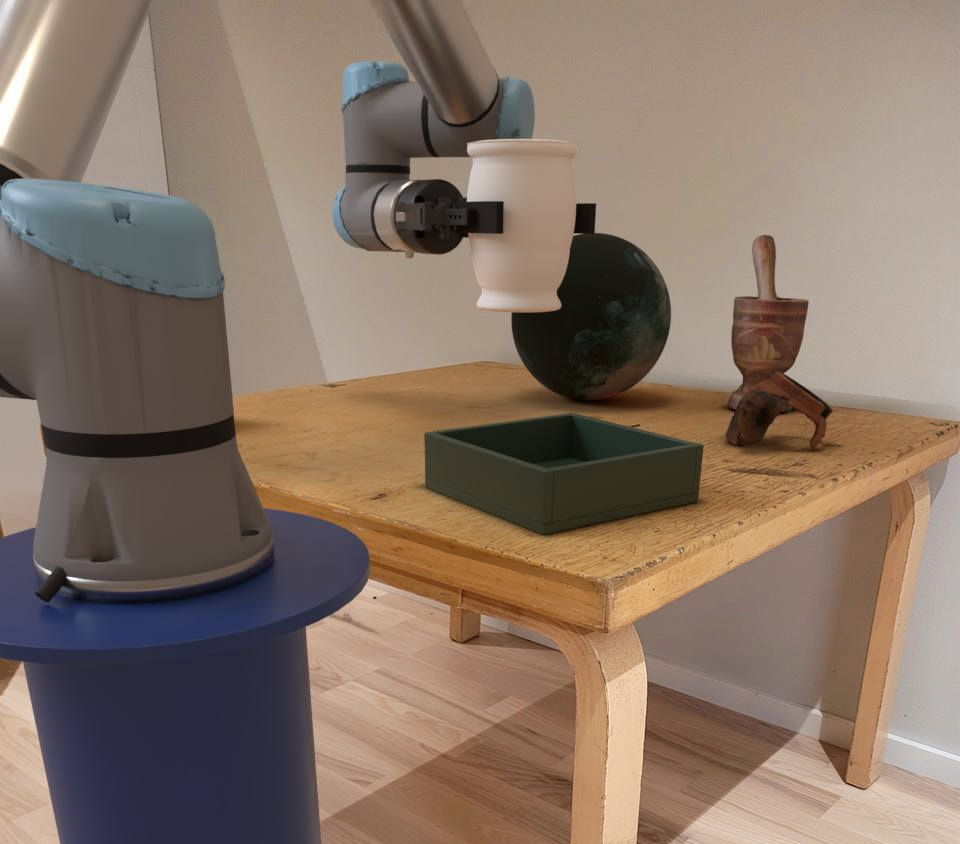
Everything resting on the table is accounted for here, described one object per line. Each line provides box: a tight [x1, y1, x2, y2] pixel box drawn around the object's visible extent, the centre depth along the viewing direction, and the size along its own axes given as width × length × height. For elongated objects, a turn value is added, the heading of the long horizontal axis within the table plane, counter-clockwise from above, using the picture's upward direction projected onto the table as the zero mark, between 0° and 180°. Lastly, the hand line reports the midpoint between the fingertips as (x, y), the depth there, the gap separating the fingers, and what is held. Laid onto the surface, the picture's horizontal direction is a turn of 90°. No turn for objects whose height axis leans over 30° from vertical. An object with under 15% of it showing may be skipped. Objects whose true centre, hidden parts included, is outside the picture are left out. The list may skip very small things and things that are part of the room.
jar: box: [466, 138, 579, 313], centre depth 93 cm, size 11×10×15 cm
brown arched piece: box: [724, 371, 834, 450], centre depth 99 cm, size 12×10×8 cm
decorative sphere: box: [510, 232, 672, 402], centre depth 121 cm, size 20×20×20 cm
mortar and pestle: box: [727, 234, 810, 413], centre depth 117 cm, size 12×9×20 cm
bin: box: [423, 412, 705, 536], centre depth 81 cm, size 17×17×5 cm
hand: (547, 218), depth 90 cm, fingers closed on jar, 10 cm apart
